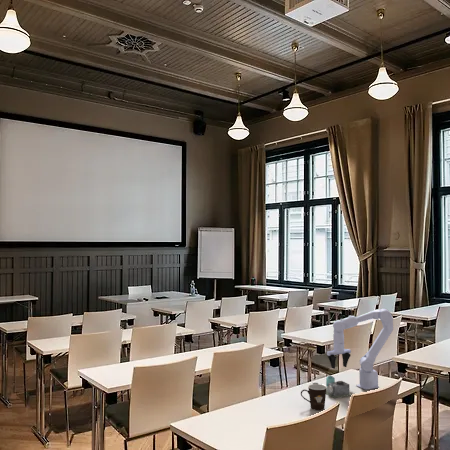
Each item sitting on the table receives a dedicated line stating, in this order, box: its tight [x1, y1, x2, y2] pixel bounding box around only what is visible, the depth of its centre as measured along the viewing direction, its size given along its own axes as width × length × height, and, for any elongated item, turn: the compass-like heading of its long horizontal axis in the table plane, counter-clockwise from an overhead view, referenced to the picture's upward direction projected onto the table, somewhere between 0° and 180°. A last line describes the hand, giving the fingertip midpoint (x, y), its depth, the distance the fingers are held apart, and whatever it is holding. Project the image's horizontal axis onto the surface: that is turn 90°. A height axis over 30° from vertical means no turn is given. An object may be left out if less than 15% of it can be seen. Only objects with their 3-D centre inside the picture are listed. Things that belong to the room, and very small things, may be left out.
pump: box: [325, 375, 336, 386], centre depth 256 cm, size 4×4×7 cm
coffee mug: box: [300, 383, 327, 411], centre depth 230 cm, size 12×9×10 cm
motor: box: [320, 380, 353, 399], centre depth 252 cm, size 11×15×6 cm
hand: (339, 367), depth 264 cm, fingers open, 7 cm apart
